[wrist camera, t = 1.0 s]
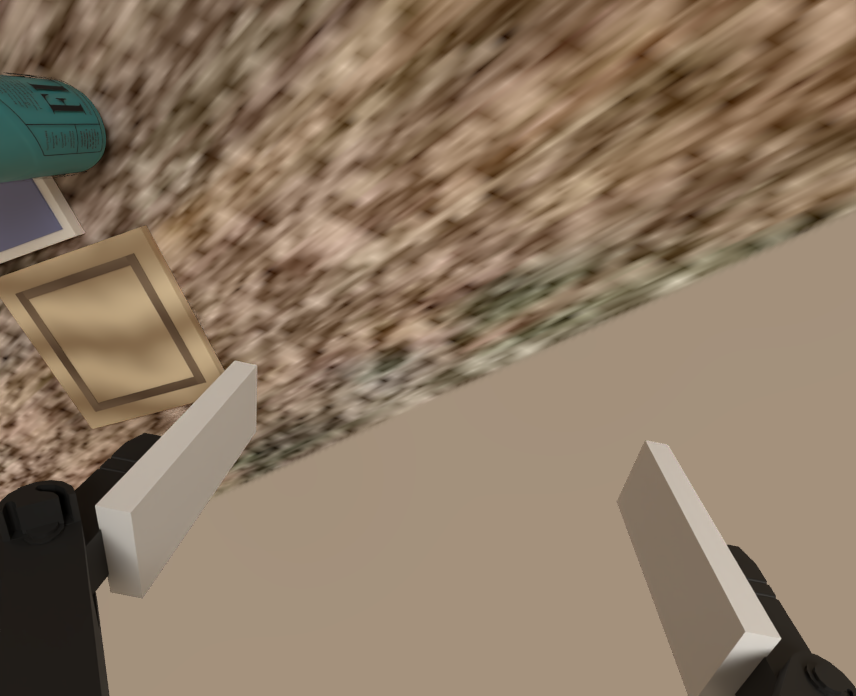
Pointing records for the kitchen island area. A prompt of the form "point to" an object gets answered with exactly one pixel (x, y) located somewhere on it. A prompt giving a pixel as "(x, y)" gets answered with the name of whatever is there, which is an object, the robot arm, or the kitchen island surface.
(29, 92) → the beverage bottle
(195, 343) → the mark board
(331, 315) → the kitchen island surface
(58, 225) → the ink pad
